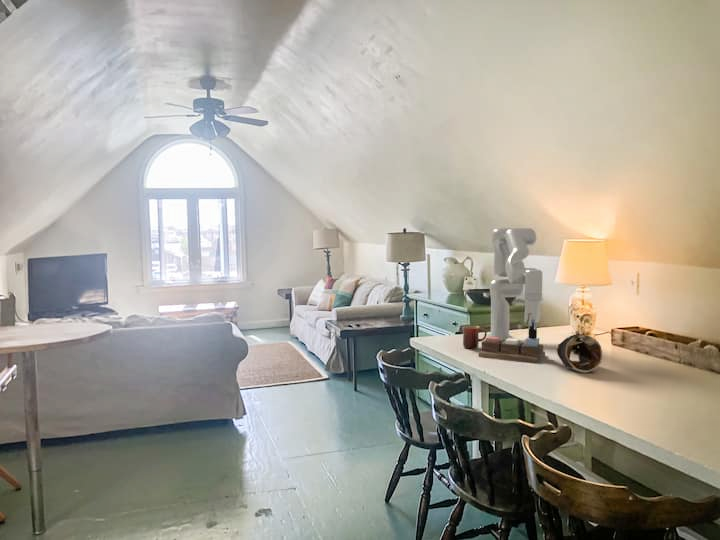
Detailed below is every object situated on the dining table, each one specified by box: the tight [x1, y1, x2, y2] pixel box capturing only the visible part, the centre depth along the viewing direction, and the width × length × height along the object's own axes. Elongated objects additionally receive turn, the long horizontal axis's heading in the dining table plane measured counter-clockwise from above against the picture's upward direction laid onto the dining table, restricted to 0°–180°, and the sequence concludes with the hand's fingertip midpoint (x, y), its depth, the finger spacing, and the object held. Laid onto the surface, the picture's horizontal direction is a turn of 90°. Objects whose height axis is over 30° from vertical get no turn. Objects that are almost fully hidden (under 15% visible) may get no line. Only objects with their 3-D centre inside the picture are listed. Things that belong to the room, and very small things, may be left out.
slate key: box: [524, 336, 540, 347], centre depth 246 cm, size 5×5×4 cm
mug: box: [461, 325, 488, 350], centre depth 269 cm, size 12×9×10 cm
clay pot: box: [556, 333, 603, 373], centre depth 233 cm, size 15×15×25 cm
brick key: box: [485, 336, 500, 343], centre depth 255 cm, size 5×5×4 cm
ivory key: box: [504, 337, 520, 345], centre depth 251 cm, size 5×5×4 cm
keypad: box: [478, 339, 546, 364], centre depth 251 cm, size 16×26×6 cm, turn 59°
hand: (532, 338), depth 246 cm, fingers closed
